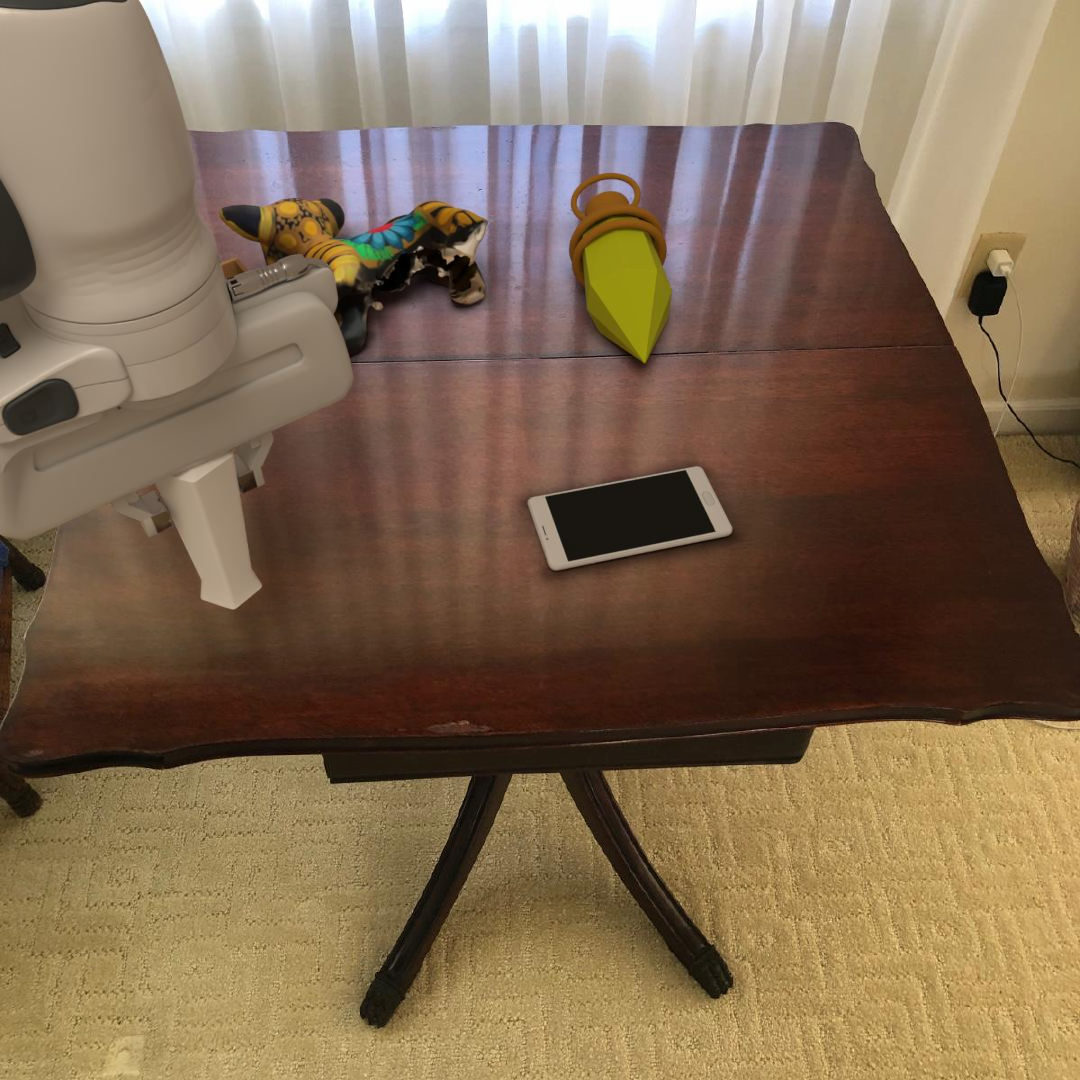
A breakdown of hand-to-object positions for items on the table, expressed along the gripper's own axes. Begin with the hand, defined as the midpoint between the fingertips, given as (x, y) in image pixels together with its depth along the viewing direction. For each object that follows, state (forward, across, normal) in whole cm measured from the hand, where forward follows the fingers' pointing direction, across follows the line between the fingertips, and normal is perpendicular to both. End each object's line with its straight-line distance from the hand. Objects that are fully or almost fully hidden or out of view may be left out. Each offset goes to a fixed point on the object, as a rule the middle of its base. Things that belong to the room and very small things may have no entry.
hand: (202, 504), depth 58 cm
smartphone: (+16, -30, +6) cm, 34 cm away
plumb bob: (+16, -47, -16) cm, 52 cm away
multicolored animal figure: (+16, -28, -31) cm, 44 cm away
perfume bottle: (+8, 0, 0) cm, 8 cm away
